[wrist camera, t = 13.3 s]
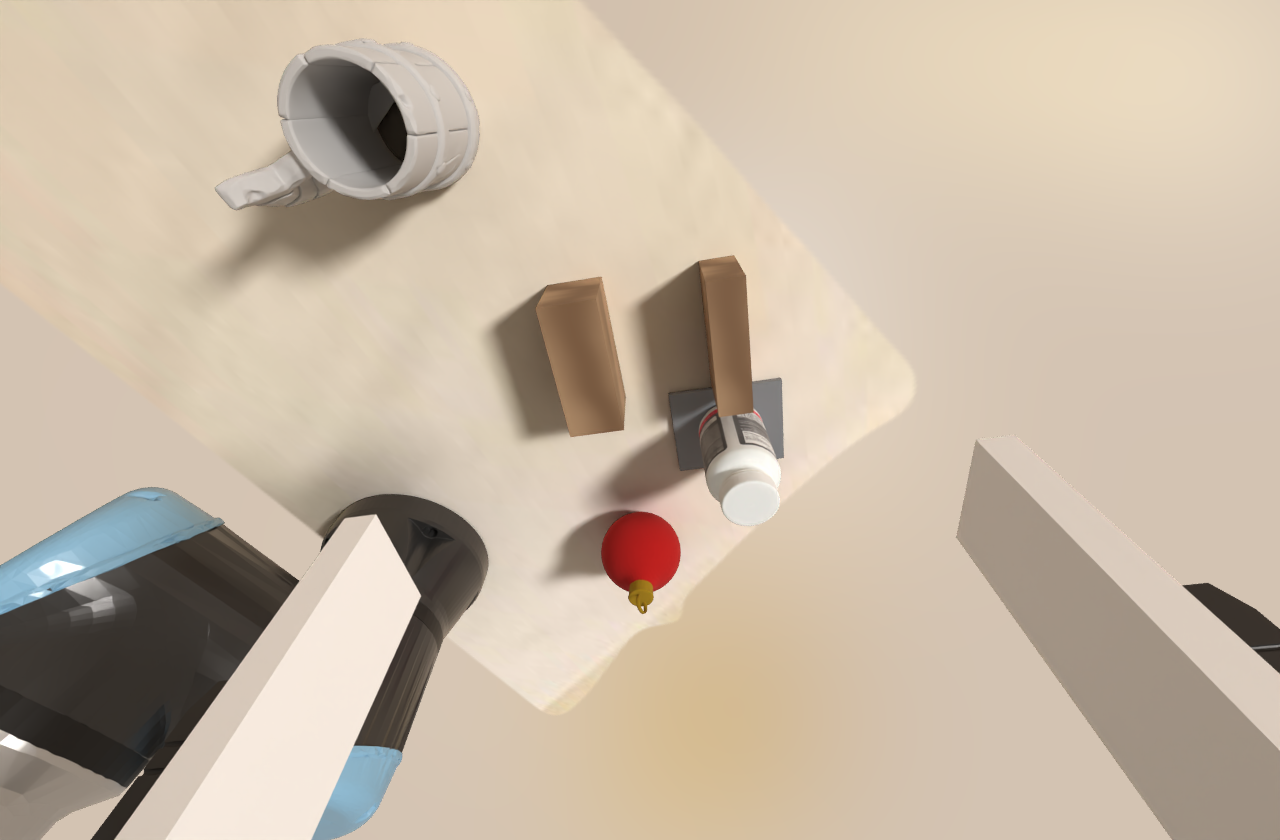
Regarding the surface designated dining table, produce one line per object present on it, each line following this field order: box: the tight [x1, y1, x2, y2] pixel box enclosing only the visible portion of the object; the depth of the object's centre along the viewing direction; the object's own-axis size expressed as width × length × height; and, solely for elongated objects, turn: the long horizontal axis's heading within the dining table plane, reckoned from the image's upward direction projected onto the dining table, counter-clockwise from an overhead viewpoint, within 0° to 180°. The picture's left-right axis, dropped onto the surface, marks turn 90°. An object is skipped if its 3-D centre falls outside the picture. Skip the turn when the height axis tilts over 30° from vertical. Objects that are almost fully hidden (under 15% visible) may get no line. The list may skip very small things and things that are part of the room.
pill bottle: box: [699, 406, 781, 526], centre depth 40 cm, size 5×5×10 cm
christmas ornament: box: [601, 512, 681, 614], centre depth 46 cm, size 7×7×10 cm
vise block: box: [535, 255, 754, 437], centre depth 38 cm, size 14×10×5 cm
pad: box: [669, 378, 784, 471], centre depth 44 cm, size 9×8×1 cm
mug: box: [215, 39, 480, 210], centre depth 28 cm, size 8×12×12 cm, turn 117°
